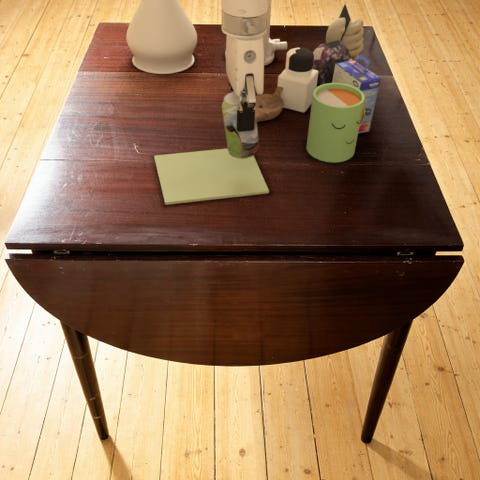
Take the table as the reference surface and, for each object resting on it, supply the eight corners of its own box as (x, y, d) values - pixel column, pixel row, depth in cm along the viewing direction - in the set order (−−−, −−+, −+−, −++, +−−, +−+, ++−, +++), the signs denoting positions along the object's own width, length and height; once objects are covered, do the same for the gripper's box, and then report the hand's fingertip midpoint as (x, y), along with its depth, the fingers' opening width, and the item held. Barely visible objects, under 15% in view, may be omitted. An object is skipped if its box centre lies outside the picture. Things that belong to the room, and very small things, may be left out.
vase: (198, 45, 161) (195, -63, 143) (197, 76, 149) (194, -37, 131) (131, 44, 160) (120, -64, 142) (125, 75, 148) (112, -39, 130)
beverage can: (255, 165, 116) (259, 108, 107) (218, 160, 117) (218, 102, 108) (261, 146, 120) (265, 90, 111) (224, 141, 121) (225, 84, 112)
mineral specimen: (306, 61, 152) (327, 25, 145) (341, 83, 153) (364, 48, 146) (298, 77, 145) (319, 40, 138) (335, 100, 147) (358, 65, 140)
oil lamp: (259, 131, 132) (260, 110, 129) (234, 118, 136) (234, 97, 132) (297, 110, 139) (299, 89, 135) (272, 98, 142) (274, 78, 139)
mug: (325, 168, 123) (333, 113, 115) (297, 143, 130) (303, 89, 121) (374, 153, 128) (386, 99, 119) (345, 129, 134) (354, 76, 125)
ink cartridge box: (371, 131, 134) (384, 66, 123) (350, 137, 132) (362, 71, 121) (345, 111, 140) (356, 47, 129) (325, 116, 138) (334, 52, 127)
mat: (249, 148, 128) (249, 146, 127) (268, 193, 117) (269, 190, 117) (154, 158, 124) (153, 155, 124) (165, 205, 114) (165, 202, 113)
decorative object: (350, 60, 162) (355, 78, 155) (314, 49, 160) (318, 66, 153) (372, 12, 153) (379, 29, 146) (334, -1, 151) (339, 15, 144)
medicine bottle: (315, 99, 143) (321, 48, 134) (304, 113, 138) (310, 61, 129) (286, 92, 145) (291, 41, 136) (275, 106, 140) (279, 54, 131)
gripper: (280, 41, 95) (272, 143, 108) (254, -1, 107) (249, 96, 120) (233, 44, 94) (231, 147, 107) (211, 2, 105) (212, 100, 119)
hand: (241, 119), depth 113 cm, fingers closed on beverage can, 6 cm apart
